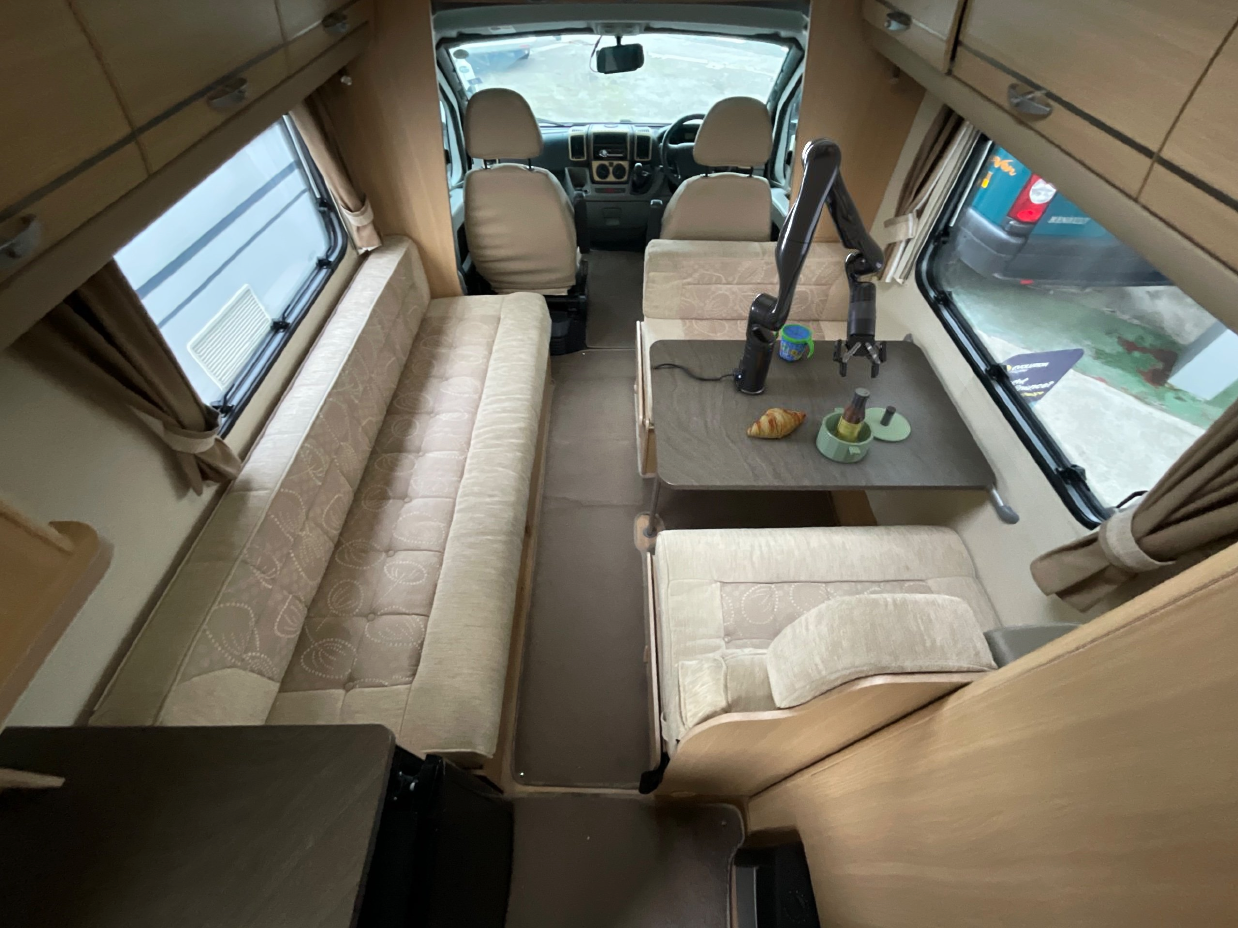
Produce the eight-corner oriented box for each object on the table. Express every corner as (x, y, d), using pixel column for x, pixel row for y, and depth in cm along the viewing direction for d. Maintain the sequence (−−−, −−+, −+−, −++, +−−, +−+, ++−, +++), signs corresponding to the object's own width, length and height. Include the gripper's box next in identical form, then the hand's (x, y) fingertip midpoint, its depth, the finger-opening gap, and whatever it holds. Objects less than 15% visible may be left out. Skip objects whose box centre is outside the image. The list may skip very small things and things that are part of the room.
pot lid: (865, 441, 172) (873, 424, 167) (852, 409, 183) (859, 392, 178) (916, 443, 172) (925, 426, 167) (899, 410, 183) (908, 393, 178)
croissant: (750, 451, 173) (761, 442, 165) (736, 422, 175) (747, 412, 167) (805, 431, 179) (818, 422, 171) (791, 404, 181) (804, 393, 174)
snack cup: (816, 361, 201) (824, 337, 194) (796, 371, 197) (803, 347, 189) (784, 341, 210) (790, 317, 203) (764, 350, 205) (770, 326, 198)
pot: (824, 468, 163) (831, 450, 158) (809, 423, 177) (816, 405, 172) (873, 470, 163) (883, 452, 158) (855, 424, 177) (863, 406, 172)
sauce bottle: (855, 451, 168) (878, 400, 154) (834, 451, 168) (855, 399, 154) (849, 437, 172) (871, 385, 158) (829, 436, 172) (849, 385, 158)
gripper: (880, 324, 162) (877, 380, 162) (831, 322, 162) (828, 378, 162) (892, 318, 154) (889, 376, 155) (841, 316, 155) (838, 374, 155)
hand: (858, 377), depth 158 cm, fingers open, 8 cm apart
